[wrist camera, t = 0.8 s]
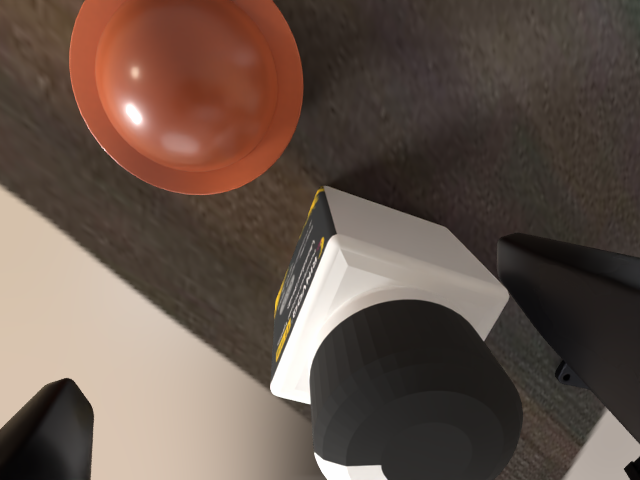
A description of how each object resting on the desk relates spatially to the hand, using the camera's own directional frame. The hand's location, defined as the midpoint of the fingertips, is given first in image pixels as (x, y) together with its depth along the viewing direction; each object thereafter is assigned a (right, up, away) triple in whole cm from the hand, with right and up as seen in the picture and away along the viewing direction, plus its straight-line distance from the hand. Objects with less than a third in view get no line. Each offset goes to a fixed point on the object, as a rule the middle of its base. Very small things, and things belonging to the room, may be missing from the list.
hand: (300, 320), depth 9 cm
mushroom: (-4, +9, +10) cm, 14 cm away
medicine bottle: (+2, 0, +14) cm, 14 cm away
